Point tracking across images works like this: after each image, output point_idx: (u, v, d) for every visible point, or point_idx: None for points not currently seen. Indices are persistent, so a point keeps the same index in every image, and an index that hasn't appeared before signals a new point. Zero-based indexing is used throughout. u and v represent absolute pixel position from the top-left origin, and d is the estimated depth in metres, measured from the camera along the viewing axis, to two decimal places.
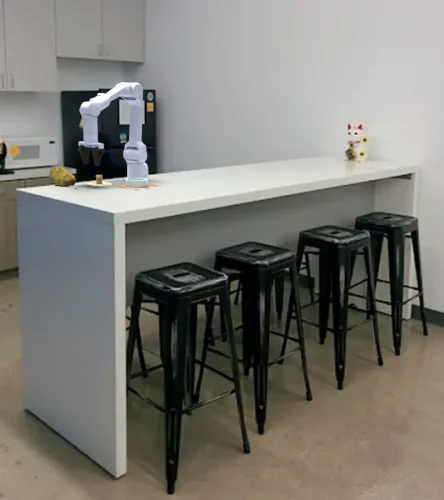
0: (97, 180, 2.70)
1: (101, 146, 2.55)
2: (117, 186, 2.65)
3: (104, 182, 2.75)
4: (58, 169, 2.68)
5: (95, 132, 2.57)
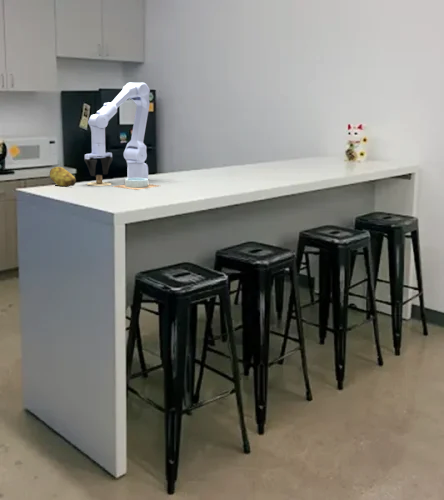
0: (97, 180, 2.70)
1: (86, 157, 2.63)
2: (117, 186, 2.65)
3: (104, 182, 2.75)
4: (58, 169, 2.68)
5: (94, 143, 2.65)
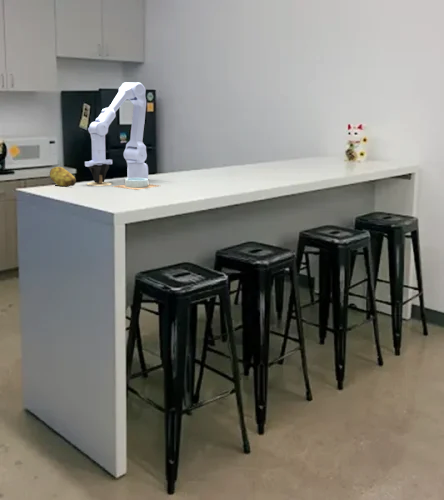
0: None
1: (86, 164, 2.64)
2: (117, 186, 2.65)
3: (104, 182, 2.75)
4: (58, 169, 2.68)
5: (94, 151, 2.66)
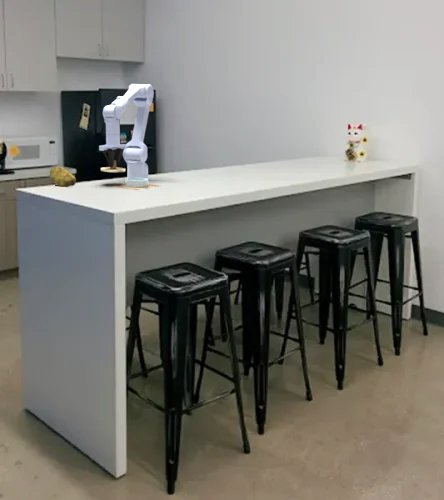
0: None
1: (100, 148, 2.61)
2: (117, 186, 2.65)
3: (118, 167, 2.72)
4: (58, 169, 2.68)
5: (108, 135, 2.63)
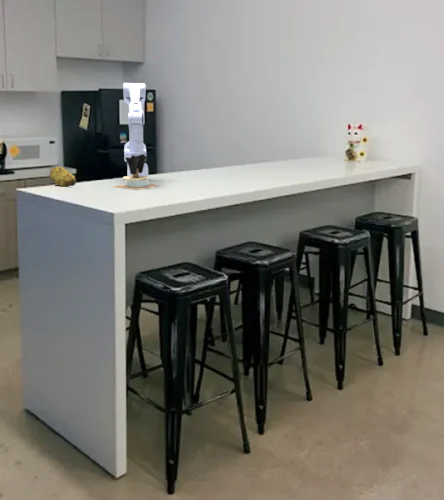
0: (134, 174, 2.66)
1: (127, 155, 2.58)
2: (117, 186, 2.65)
3: None
4: (58, 169, 2.68)
5: (133, 141, 2.61)
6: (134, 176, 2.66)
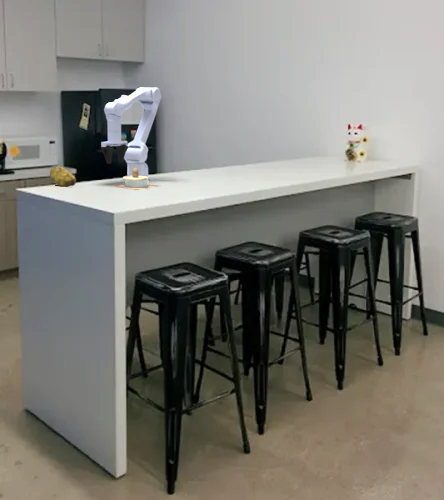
0: (134, 174, 2.66)
1: (102, 144, 2.64)
2: (117, 186, 2.65)
3: None
4: (58, 169, 2.68)
5: (110, 131, 2.67)
6: (134, 176, 2.66)
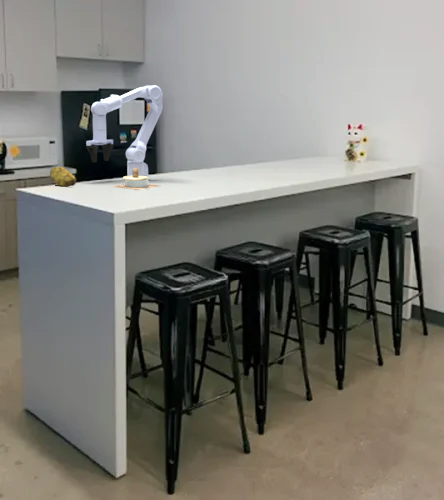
0: (134, 174, 2.66)
1: (87, 143, 2.69)
2: (117, 186, 2.65)
3: None
4: (58, 169, 2.68)
5: (95, 130, 2.71)
6: (134, 176, 2.66)
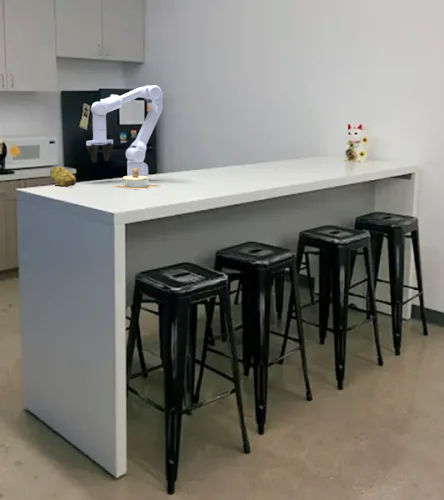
0: (134, 174, 2.66)
1: (87, 143, 2.69)
2: (117, 186, 2.65)
3: None
4: (58, 169, 2.68)
5: (95, 130, 2.71)
6: (134, 176, 2.66)
